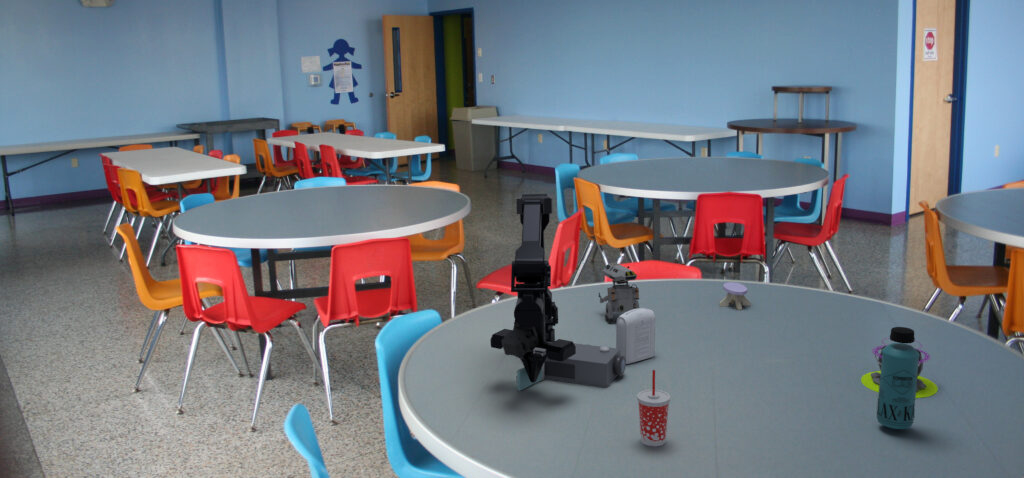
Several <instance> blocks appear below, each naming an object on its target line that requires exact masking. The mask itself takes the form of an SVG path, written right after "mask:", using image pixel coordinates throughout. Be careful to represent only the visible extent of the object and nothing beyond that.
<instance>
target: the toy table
mask: <svg viewBox="0 0 1024 478" xmlns="http://www.w3.org/2000/svg"><path fill="white" fill-rule="evenodd" d="M722 287H723V291H725V293H726V296H724V298H722V299H721V300H720V302H719V303H718V305H719V307H720V308H722V307H725V308H726V307H729V305H730V304H731V305H732V304H733V305H734V304H735V309H737V310H738V311H742V310H743V306H744V307H745V306H747V307H748V306H749V307H750V306H751V304H752V303H751V301H750V300H749V299H748V298H746V296H745V295H746V294H748V287H747V286H746V285H744V284H743V283H739V282H733V281H732V282H731V281H730V282H729V281H727V282H724V283H723V285H722Z"/></svg>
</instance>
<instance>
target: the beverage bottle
mask: <svg viewBox="0 0 1024 478" xmlns="http://www.w3.org/2000/svg"><path fill="white" fill-rule="evenodd" d="M915 339H916V337H915V331H914V329H912V328H909V327H906V326H905V327H904V326H893V327H891V329H890V335H889V340H890V341H891V342H893V343H890V344H887V345H888V346H886V345H885V346H886V347H885V348H883V350H882V349H881V351H882V353H883V354H882V365H881V370H880V371H881V376H880V379H879V380H880V381H879V382H880V386H879V387H878V388H879V393H878V397H877V399H876V400H877V402H876V403H877V408H876V418H877V422H878V423H879V424H881V425H882V426H884V427H887V428H890V429H895V430H897V429H898V430H906V429H910V428H911V427H912V426H913V424H914V423H915V422H914V421H915V419H914V418H915V407H916V400H917V398H915V396H917V394H916V393H917V392H916V386H917V372H918V361H919V352H918V351H917V350H918V349H917V350H916V349H915V348H916V347H913V345H910V344H912V343H915V342H916V340H915Z"/></svg>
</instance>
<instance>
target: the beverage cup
mask: <svg viewBox="0 0 1024 478" xmlns="http://www.w3.org/2000/svg"><path fill="white" fill-rule="evenodd" d="M651 376H652V379H651V380H652V381H651V382H652V383H651V385H652V389H644V390H642V391H639V392H638V393H637V394H636V400H637V402H638V413H639V414H638V415H639V417H638V418H639V429H640V430H639V432H640V433H639V434H640V442H641V443H642V444H643V445H646V446H648V447H661V446H663V445H665V444H666V442H667V431H668V430H667V429H668V416H669V404H670V402H671V395H670V394H669V393H668V392H666V391H665V390H660V389H656V370H655V369H653V370H652V375H651Z"/></svg>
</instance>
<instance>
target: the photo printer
mask: <svg viewBox="0 0 1024 478" xmlns="http://www.w3.org/2000/svg"><path fill="white" fill-rule="evenodd" d="M615 329H616V332H615V333H616V334H615V335H616V336H615V338H616V339H615V345H616V346H615V348H617V349H620V355H621V356H624V357H625V360H626V365H629V364H633V363H636V362H639V361H644V360H647V359H651V358H653V357H655V354H656V315H655V313H654V311H653V310H652V309H648V308H646V307H645V308H644V307H639V308H638V309H633V310H630V311H628V312H623V313H622V314H621V315H619V316H618V317H617V319H616V328H615Z"/></svg>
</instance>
